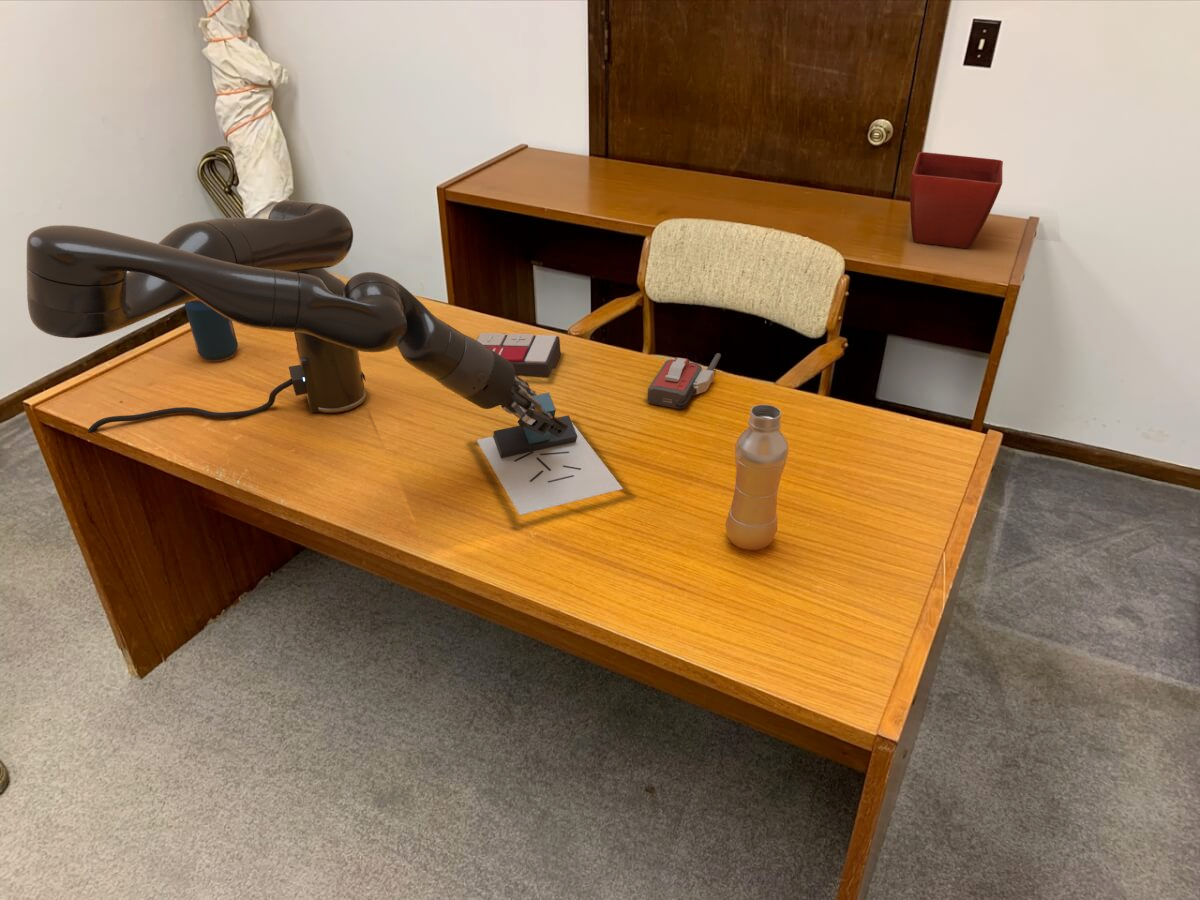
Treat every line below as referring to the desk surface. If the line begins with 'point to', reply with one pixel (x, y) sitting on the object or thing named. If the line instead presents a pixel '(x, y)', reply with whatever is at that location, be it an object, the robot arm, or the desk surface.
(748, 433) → the plastic bottle
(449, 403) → the desk surface
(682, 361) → the walkie-talkie
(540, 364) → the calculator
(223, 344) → the soda can
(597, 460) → the whiteboard
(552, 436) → the eraser
